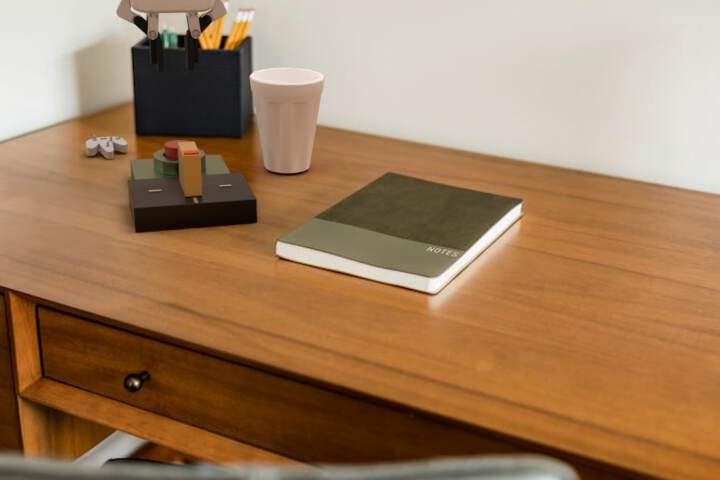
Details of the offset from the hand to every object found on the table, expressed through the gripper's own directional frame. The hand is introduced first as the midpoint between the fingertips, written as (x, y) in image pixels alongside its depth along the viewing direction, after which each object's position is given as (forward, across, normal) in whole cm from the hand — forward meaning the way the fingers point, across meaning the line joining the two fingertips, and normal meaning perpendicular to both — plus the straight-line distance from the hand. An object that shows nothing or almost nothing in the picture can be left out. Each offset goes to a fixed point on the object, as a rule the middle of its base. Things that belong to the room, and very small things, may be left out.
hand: (174, 67), depth 112 cm
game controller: (+15, +9, -18) cm, 25 cm away
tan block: (+12, 0, +11) cm, 16 cm away
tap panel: (+15, 0, +11) cm, 19 cm away
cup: (+15, -15, -3) cm, 22 cm away
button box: (+15, 0, 0) cm, 15 cm away
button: (+12, 0, 0) cm, 12 cm away
